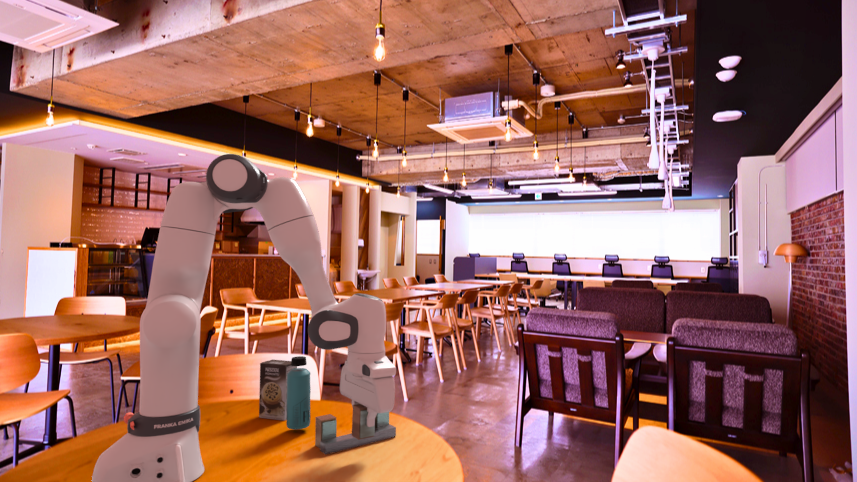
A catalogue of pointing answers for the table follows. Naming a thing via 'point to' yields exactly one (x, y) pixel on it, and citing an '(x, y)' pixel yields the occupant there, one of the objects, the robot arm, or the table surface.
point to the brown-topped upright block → (361, 423)
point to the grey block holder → (331, 443)
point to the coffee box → (274, 389)
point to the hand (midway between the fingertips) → (363, 422)
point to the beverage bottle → (298, 395)
